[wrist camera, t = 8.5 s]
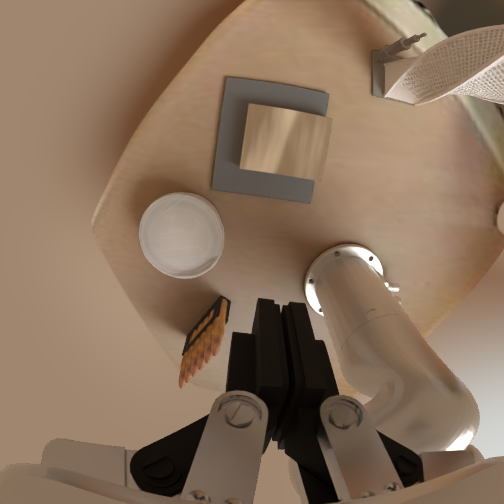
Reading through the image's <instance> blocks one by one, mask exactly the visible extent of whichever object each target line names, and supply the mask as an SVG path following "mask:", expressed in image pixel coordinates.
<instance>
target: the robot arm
mask: <svg viewBox="0 0 504 504" xmlns="http://www.w3.org/2000/svg"><path fill="white" fill-rule="evenodd" d="M336 251H337V252H336ZM335 252H336V253H335ZM310 279H311V280H310ZM304 290H305V295H306V298H307V301H308V303H309V305H310V306H311V307H312V309H313V310H314V311H316V312H317V313H318V314H320V315H322V316H324V319H325V321H326V324H327V327H328V330H329V333H330V336H331V339H332V342H333V345H334V348H335V351H336V354H337V358H338V361H339V364H340V367H341V370H342V373H343V375H344V377H345V379H346V381H347V382H348V383H349V384H350V385H351V386H352V387H353V388H354V389H355V390H357V391H358V392H360V393H362V394H364V395H366V396H369V397H371V398H373V399H372V400H371V401H369V402H368V403H366V404H364V405H362V404H361V403H360V402H359V401H358V400H356V399H354V398H352V397H349V396H345V395H339V392H338V388H337V384H336V381H335V377H334V373H333V370H332V366H331V363H330V359H329V356H328V352H327V349H326V346H325V343H324V341H323V340H315V337H314V333H313V329H312V326H311V322H310V318H309V314H308V311H307V307H306V304H305V303H297V302H289V304H288V305H283V307H282V311H281V312H280V305H279V304H274V300H271V299H262V298H258V301H257V306H256V311H255V317H254V322H253V327H252V333H251V334H248V333H239V332H233V333H232V340H231V348H230V355H229V364H228V373H227V383H226V393H224V394H222V395H220V396H219V397H218V398H217V399H216V400H215V402H214V403H213V406H212V409H211V411H210V414H208V415H207V416H205V417H203V418H201V419H199V420H197V421H196V422H194V423H192V424H190V425H188V426H186V427H184V428H182V429H180V430H178V431H177V432H174V433H172V434H171V435H168V436H166V437H164V438H163V439H160V440H158V441H156V442H154V443H152V444H150V445H148V446H145V447H143V448H142V449H140V450H138V451H137V450H126V449H125V447H118V446H108V445H100V444H93V443H86V442H80V441H74V440H69V439H59V438H58V439H54V440H52V441H50V442H49V443H48V444H47V445H46V446H45V448H44V451H43V455H42V461H41V464H29V463H25V464H24V463H23V464H12V465H9V466H6V467H5V468H3V469H2V470H0V504H253V500H254V495H255V489H256V484H257V479H258V474H259V468H260V463H261V457H262V454H264V452H265V451H266V449H267V446H268V444H269V442H270V440H271V437H272V440H273V441H277V442H278V449H285V454H287V455H288V456H289V462H288V469H289V475H290V479H291V482H292V484H293V486H294V488H295V490H296V492H297V493H298V495H299V496H300V499H301V502H302V504H504V456H501V457H493V458H488V459H484V457H483V456H482V454H481V453H480V452H479V450H478V449H477V448H475V447H474V446H473V445H470V443H471V441H472V440H473V438H474V436H475V434H476V432H477V429H478V426H479V420H480V419H479V418H480V416H479V410H478V406H477V403H476V401H475V399H474V397H473V395H472V394H471V392H470V391H469V390H468V388H467V387H466V386H465V384H464V383H463V382H462V381H461V380H460V379H459V378H458V377H457V376H456V375H455V374H454V373H453V372H452V371H451V370H450V369H449V368H448V367H447V365H446V364H445V363H444V362H443V361H442V360H441V359H440V358H439V356H438V355H437V354H436V353H435V352H434V350H433V349H432V348H431V346H430V345H429V344H428V343H427V341H426V340H425V338H424V337H423V336H422V334H421V333H420V331H419V330H418V329H417V327H416V326H415V324H414V323H413V321H412V320H411V319H410V317H409V316H408V314H407V313H406V312H405V310H404V309H403V308H402V306H401V305H400V303H401V299H400V297H398V296H394V295H393V294H392V293H391V292H395V293H397V292H398V291H399V284H395V283H387V281H386V280H385V279H384V277H383V269H382V266H381V263H380V261H379V260H378V258H377V257H376V255H375V254H374V253H373V252H372V251H370V250H369V249H367V248H366V247H363V246H361V245H356V244H342V245H338V246H335V247H332V248H330V249H328V250H326V251H325V252H323V253H322V254H321V255H320V256H318V257H317V258H316V259H315V260H314V262H313V263H312V264H311V266H310V268H309V269H308V271H307V274H306V277H305V283H304Z"/></svg>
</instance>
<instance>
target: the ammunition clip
mask: <svg viewBox="0 0 504 504" xmlns="http://www.w3.org/2000/svg"><path fill="white" fill-rule="evenodd" d="M230 304H231V301H229V300H228V299H226V298H225V297H223V296H220V297H219V298H218V300H217V301H216V302H215V303H214V304H213V306H212V307H211V308H210V309H209V310H208V312H207V313H206V314H205V315H204V316H203V317H202V319H201V320H200V321H199V322H198V323H197V325H196V326H195V327H194V328H193V329H192V331H191V332H190V333H189V334H188V335H187V338H186V342H185V345H184V349H183V353H182V355H183V359H182V363H181V371H180V376H179V387H180V388H182V387H183V386H184V385H185V383H187V382H189V380H190V379H191V377H192V376H193V377H194V376H195V375H196V373H197V372H198V369H199V370H201V369H202V368H203V366H204V364H205V362H206V363H208V362H209V361H210V359H211V357H212V354H213V356H215V355H216V354H217V353H218V351H219V348H220V345H221V340H222V337H223V335H224V329H225V324H226V323H227V322H228V317H229V310H230Z"/></svg>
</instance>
